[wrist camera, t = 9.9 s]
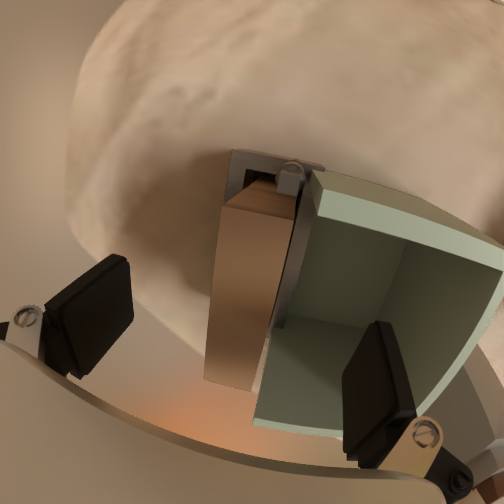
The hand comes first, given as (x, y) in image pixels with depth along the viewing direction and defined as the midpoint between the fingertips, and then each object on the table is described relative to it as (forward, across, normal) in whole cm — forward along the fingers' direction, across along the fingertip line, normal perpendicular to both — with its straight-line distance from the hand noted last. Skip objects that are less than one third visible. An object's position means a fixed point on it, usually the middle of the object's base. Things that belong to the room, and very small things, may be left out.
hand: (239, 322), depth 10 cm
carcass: (+11, -6, +1) cm, 13 cm away
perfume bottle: (+11, -20, +9) cm, 25 cm away
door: (+11, 0, +1) cm, 11 cm away
